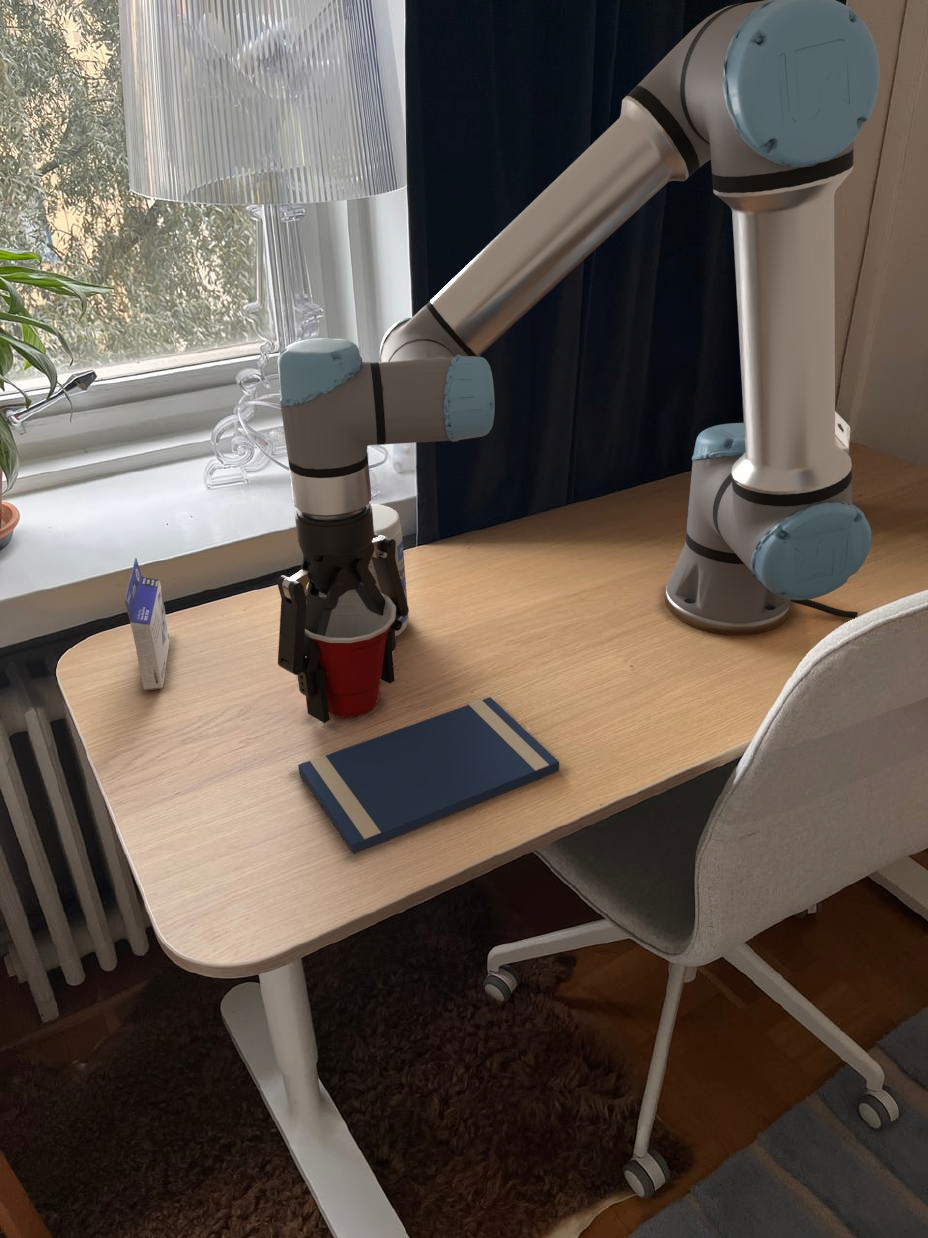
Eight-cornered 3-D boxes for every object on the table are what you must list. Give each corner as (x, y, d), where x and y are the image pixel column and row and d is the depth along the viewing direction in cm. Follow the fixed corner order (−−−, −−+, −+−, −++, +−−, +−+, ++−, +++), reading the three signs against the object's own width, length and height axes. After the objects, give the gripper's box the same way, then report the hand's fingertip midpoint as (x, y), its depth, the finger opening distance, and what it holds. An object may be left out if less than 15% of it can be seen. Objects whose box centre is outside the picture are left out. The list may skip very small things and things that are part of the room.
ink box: (165, 690, 108) (145, 600, 103) (143, 692, 108) (122, 602, 102) (172, 638, 118) (154, 553, 112) (153, 640, 118) (134, 555, 112)
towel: (490, 705, 104) (490, 695, 103) (559, 771, 94) (559, 760, 94) (299, 774, 95) (297, 763, 94) (353, 854, 85) (352, 843, 84)
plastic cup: (362, 745, 99) (352, 645, 93) (282, 714, 104) (268, 617, 98) (422, 692, 107) (416, 597, 101) (344, 666, 112) (335, 574, 106)
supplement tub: (423, 631, 118) (416, 521, 110) (354, 656, 113) (343, 543, 106) (384, 600, 125) (375, 495, 118) (318, 622, 121) (305, 514, 113)
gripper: (386, 464, 102) (399, 645, 114) (217, 531, 89) (250, 729, 100) (437, 481, 98) (445, 667, 109) (268, 554, 84) (296, 758, 96)
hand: (352, 697), depth 105 cm, fingers closed on plastic cup, 9 cm apart
